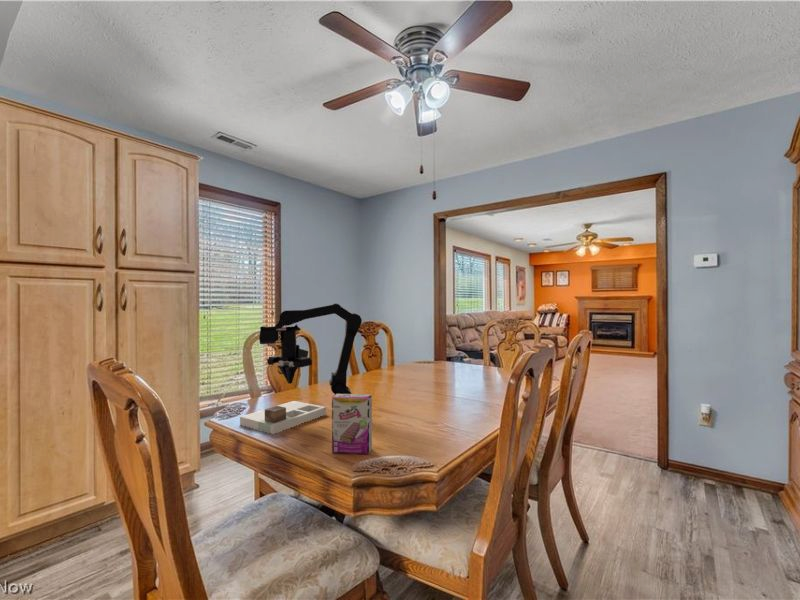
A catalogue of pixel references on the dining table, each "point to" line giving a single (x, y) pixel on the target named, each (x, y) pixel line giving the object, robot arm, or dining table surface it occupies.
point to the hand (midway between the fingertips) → (290, 383)
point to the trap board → (294, 416)
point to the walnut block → (275, 414)
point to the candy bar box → (352, 423)
